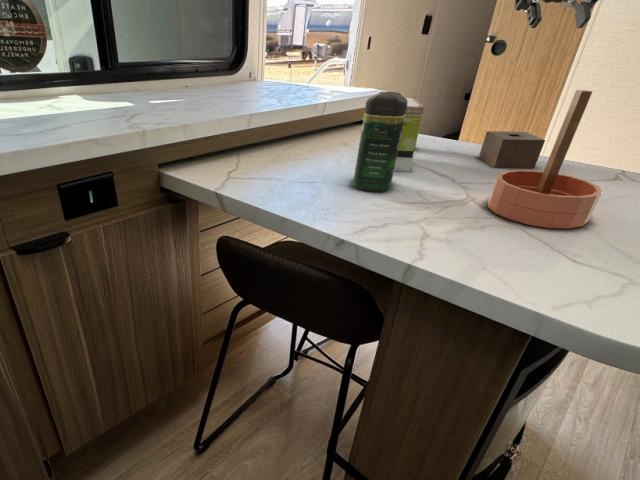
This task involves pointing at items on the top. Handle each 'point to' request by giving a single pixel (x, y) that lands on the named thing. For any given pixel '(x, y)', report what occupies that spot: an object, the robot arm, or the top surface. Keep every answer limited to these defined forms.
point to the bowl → (543, 199)
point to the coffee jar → (379, 141)
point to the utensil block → (511, 149)
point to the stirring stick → (563, 140)
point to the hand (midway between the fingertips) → (559, 24)
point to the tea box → (409, 135)
